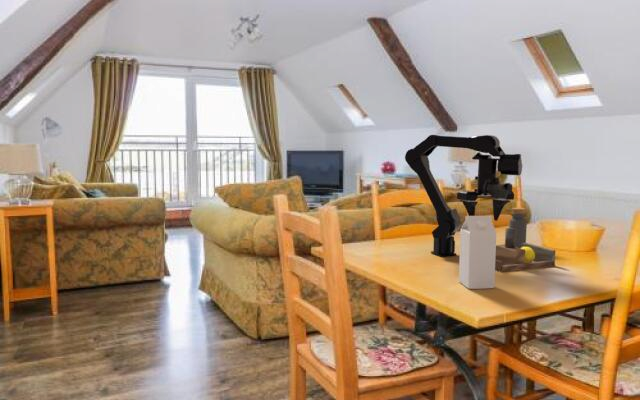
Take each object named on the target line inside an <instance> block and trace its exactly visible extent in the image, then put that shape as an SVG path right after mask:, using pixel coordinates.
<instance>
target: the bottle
mask: <svg viewBox="0 0 640 400" xmlns="http://www.w3.org/2000/svg"><path fill="white" fill-rule="evenodd" d="M526 209H527V208H526V207H512V208H511V213H510V216H511V217H512V218H511V219H509V221H508V222H509V227H508V228H515V229H516V237H515V247H517V248H521V247H522V243H527V227H528V226H527V225H528V221H527V220H526V219H525V218H526V216H527V213H526V211H527V210H526Z"/></svg>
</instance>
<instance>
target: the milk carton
mask: <svg viewBox="0 0 640 400" xmlns="http://www.w3.org/2000/svg"><path fill="white" fill-rule="evenodd" d="M459 230H460V234H459V264H458V265H459V267H458V268H459V269H458V272H459V273H458V283H460V284H461V285H463V286H464V287H466V288H467V289H469V290H474V289H475V290H476V289H477V290H479V289H482V290H483V289H495V281H496V280H495V279H496V270H495V256H496V245H497V230H496V228H495V226H494V223H493V220H492V215H475V216H469V215H466V216H465V220H464V221H463V223H462V224H461V226H460V228H459Z"/></svg>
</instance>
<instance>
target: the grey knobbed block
mask: <svg viewBox="0 0 640 400" xmlns="http://www.w3.org/2000/svg"><path fill="white" fill-rule="evenodd" d="M515 237H516V229H515V228H509V227H506V228H505V239H504V244H496V256H495V259H496V260H499V261H503V265H510V264H519V263H525V250H524V249H521V248H517V247H515Z"/></svg>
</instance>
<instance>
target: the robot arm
mask: <svg viewBox="0 0 640 400" xmlns="http://www.w3.org/2000/svg"><path fill="white" fill-rule="evenodd" d="M500 144H501V142H500V140H499V138H498V137H497V136H496V135H492V134H490V135H489V134H486V135H485V134H484V135H477V136H470V137H466V136H452V135H451V136H450V135H449V136H448V135H438V134H430V135H428V136H427V137H426V138H425V139H424V140H423V141H421V142H420V143H419V144H417V145H416V146H415V147H413V148H410V149H408V150H407V151H406V152H405V155H404V159H405V162H406V163H407V165H408V166H409V168H410V169H411V170H412V171H413V172H414V173H415V174H417V176H418V178H419V180H420V183H421V184H422V186H423V188H424V190H425V192H426V194H427V196H428V199H429V201H430V202H431V205H432V206H433V208H434V210H435V211H434V212H435V217H436V222H437V227H435V228H434V229H433V230H432V231H431V235H432V237H433V250H432V251H430V253H431V254H433V255H436V256H439V257H449V256H457V253H456V252H455V251H456V249H455V248H456V241H455V235H456V232H458V231H459V230H460V229H461V227H462V221H461V220H462V217H461V216H460V215H459V213H458V210H457V208H455V207H454V208H451V207H450V206H449V205H448V203H447V201H446V199H445V198H444V197H445V196H444V194H443V193H442V191H441V189H440V187H439V185H438V183H437V181H436V179H435V177H434V176H433V175H434V174H433V173H432V171H431V167H430V160H429V156H430V155H431V154H432V153H433V152H434V151H435V150H436V148H437V147H445V148H446V147H447V148H457V149H458V148H459V149H460V148H461V149H468V150H473V151H475V152H477V153H476V154H475V155H474V156H472V158H471V159H472V160H476V161H477V160H478V164H477V165H478V168H477V176H476V175H475V176H474V180H476V181H477V183H476V188H474V190H459V191H458V192H457V193H456V200H459V201H460V202H461V203H462V204H463V206H464V208H465V210H466V213H467V216H476V215H475V214H476V206H477V205H478V203H479V202H478V201H477V200H478V199H492V213H493V220H494V222H497V221H498V220H499V217H500V215H501V213H502V211H503V209H504V207H505V205H507V204H508V203H510V202H511V200H515V193H514V191H513V184H512V183H510V182H505V183H500V178H499V177H497V172H499V173H500V175H502V176H504V175H505V176H521V175H522V172H523V171H522V170H523V162H522V153H514V154H509V153H505V152H504V150H503V149H502V147H501V145H500ZM493 157H494V158H493ZM496 157H498V158H496Z"/></svg>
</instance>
